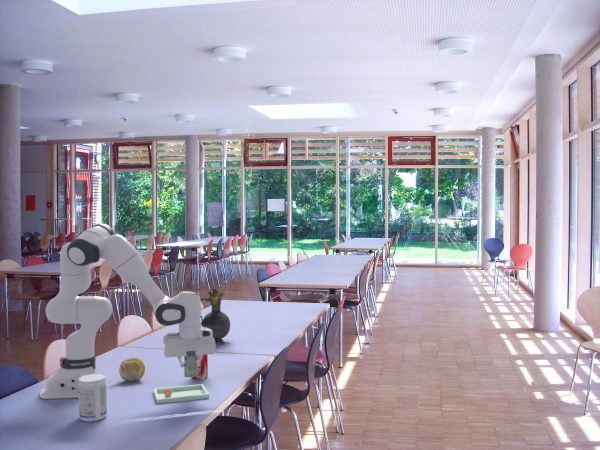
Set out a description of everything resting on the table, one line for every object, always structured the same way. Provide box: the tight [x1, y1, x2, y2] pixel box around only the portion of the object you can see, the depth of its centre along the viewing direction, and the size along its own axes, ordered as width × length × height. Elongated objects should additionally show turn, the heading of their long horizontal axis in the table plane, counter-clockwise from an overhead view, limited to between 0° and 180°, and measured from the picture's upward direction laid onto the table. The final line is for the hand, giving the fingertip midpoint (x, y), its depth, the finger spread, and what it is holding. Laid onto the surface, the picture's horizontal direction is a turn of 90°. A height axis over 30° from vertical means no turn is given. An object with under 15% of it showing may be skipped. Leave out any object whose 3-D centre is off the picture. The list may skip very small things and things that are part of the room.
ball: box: [164, 387, 172, 397], centre depth 235 cm, size 3×3×3 cm
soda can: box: [190, 354, 209, 381], centre depth 261 cm, size 7×7×13 cm
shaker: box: [183, 351, 196, 378], centre depth 237 cm, size 5×5×10 cm
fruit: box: [118, 357, 146, 382], centre depth 258 cm, size 10×11×10 cm
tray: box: [152, 383, 210, 404], centre depth 237 cm, size 20×14×2 cm
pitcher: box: [200, 288, 231, 344], centre depth 332 cm, size 11×19×30 cm, turn 81°
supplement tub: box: [78, 373, 108, 422], centre depth 214 cm, size 10×10×15 cm
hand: (190, 366), depth 237 cm, fingers closed on shaker, 5 cm apart
